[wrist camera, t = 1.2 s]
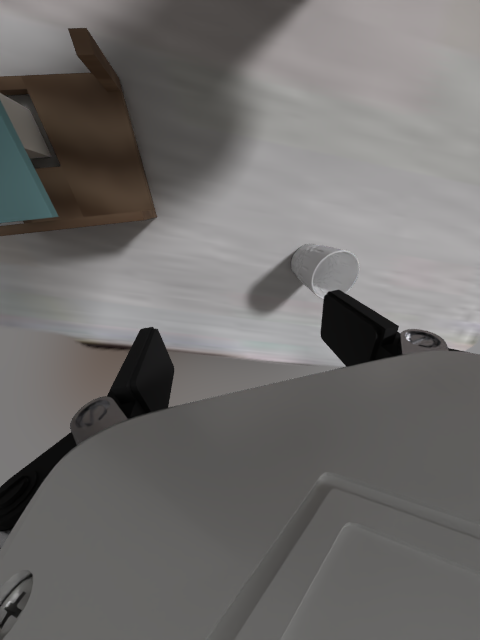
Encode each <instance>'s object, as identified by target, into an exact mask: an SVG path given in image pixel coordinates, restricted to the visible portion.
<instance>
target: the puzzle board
mask: <svg viewBox="0 0 480 640" xmlns="http://www.w3.org/2000/svg"><path fill="white" fill-rule="evenodd" d="M68 30H69V33H70V36H71V39H72V42H73V45H74V48H75V51H76V54H77V56H78V57H79V58H80V59H81V61H82V62H83V63H84V64H85V65H86V67H87V68H88V69H89V70H90V71H91V73H72V74H49V75H27V76H4V77H0V93H1V94H3V95H5V96H6V95H26V94H29V95H30V98H31V100H32V102H33V104H34V107H35V109H36V111H37V113H38V116H39V118H40V120H41V122H42V125H43V127H44V129H45V131H46V134H47V136H48V138H49V140H50V143H51V145H52V147H53V149H54V152H55V154H56V156H57V158H58V161H59V163H60V165H61V166H59V167H47V168H36V169H35V170H36V172H37V174H38V176H39V178H40V180H41V182H42V184H43V186H44V188H45V190H46V192H47V194H48V196H49V198H50V200H51V202H52V204H53V206H54V208H55V210H56V212H57V214H58V216H59V217H53V218H43V219H34V220H24V221H23V222H24V223H25V224H15V225H6V226H0V236H6V235H15V234H24V233H33V232H42V231H51V230H60V229H69V228H78V227H87V226H96V225H105V224H114V223H123V222H132V221H141V220H147V219H151V218H155V217H157V215H156V212H155V208H154V204H153V201H152V197H151V193H150V190H149V186H148V182H147V179H146V175H145V171H144V168H143V164H142V161H141V157H140V153H139V150H138V146H137V142H136V139H135V135H134V131H133V128H132V124H131V120H130V117H129V113H128V110H127V106H126V102H125V99H124V95H123V91H122V88H121V84H120V80H119V77H118V76H117V74H116V73H115V71H114V70H113V68H112V66H111V65H110V63H109V62H108V60H107V59H106V57H105V56H104V54H103V53H102V51H101V50H100V48H99V47H98V45H97V44H96V42H95V40H94V39H93V37H92V36H91V34H90V33H89V31H88V30H87V28H72V29H68Z"/></svg>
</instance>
